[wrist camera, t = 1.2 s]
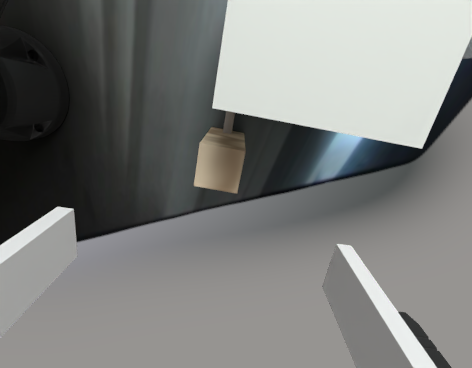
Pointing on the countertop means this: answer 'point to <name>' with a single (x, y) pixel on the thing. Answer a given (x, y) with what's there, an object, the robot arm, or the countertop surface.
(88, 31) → the countertop surface
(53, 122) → the robot arm
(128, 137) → the countertop surface
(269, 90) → the cabinet
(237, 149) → the wooden rectangular block
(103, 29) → the countertop surface
